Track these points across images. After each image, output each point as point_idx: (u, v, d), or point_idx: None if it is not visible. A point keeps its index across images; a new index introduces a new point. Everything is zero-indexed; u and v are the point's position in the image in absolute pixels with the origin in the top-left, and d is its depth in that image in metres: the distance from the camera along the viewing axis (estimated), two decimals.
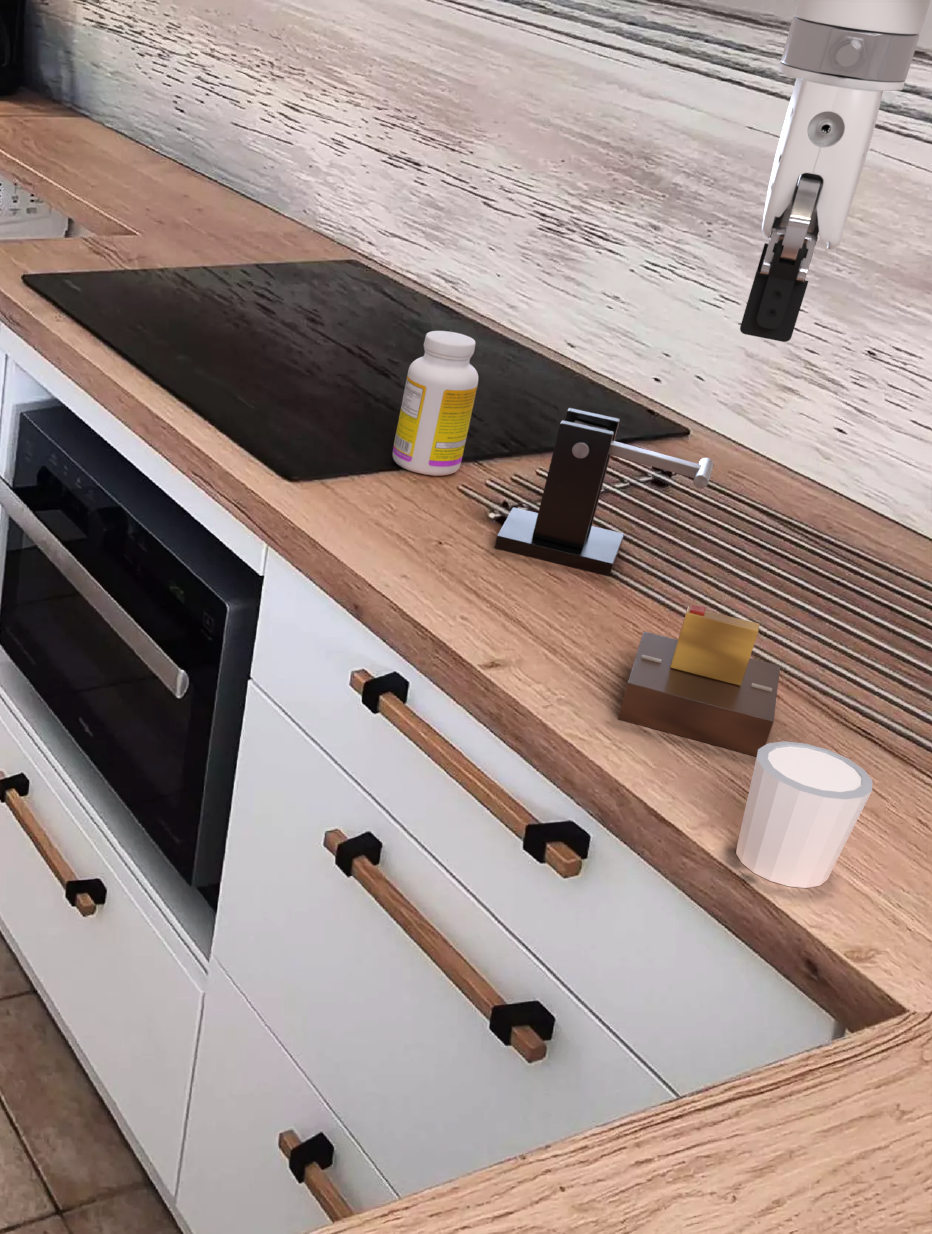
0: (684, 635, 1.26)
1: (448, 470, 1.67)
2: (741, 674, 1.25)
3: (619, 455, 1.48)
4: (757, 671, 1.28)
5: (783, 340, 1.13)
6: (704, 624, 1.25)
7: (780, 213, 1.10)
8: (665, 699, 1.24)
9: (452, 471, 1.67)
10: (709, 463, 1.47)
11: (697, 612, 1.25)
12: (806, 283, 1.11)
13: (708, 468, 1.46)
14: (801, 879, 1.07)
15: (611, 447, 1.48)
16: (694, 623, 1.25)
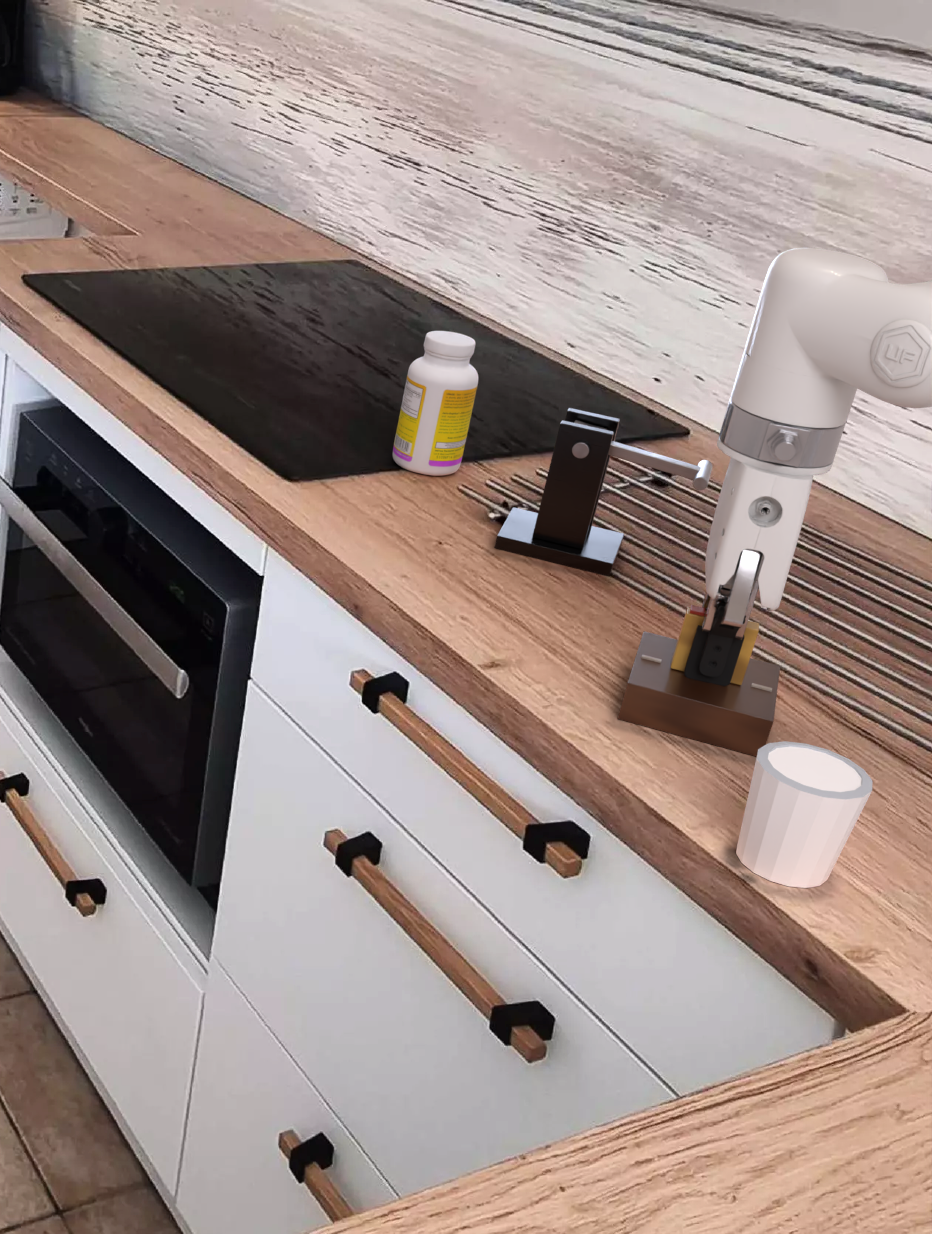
0: (684, 635, 1.25)
1: (448, 470, 1.67)
2: (741, 674, 1.25)
3: (619, 456, 1.48)
4: (757, 671, 1.28)
5: (723, 684, 1.25)
6: None
7: (724, 582, 1.19)
8: (665, 699, 1.24)
9: (452, 471, 1.67)
10: (708, 465, 1.47)
11: (697, 612, 1.25)
12: (743, 638, 1.23)
13: (707, 470, 1.46)
14: (801, 879, 1.07)
15: (610, 448, 1.48)
16: (694, 623, 1.25)
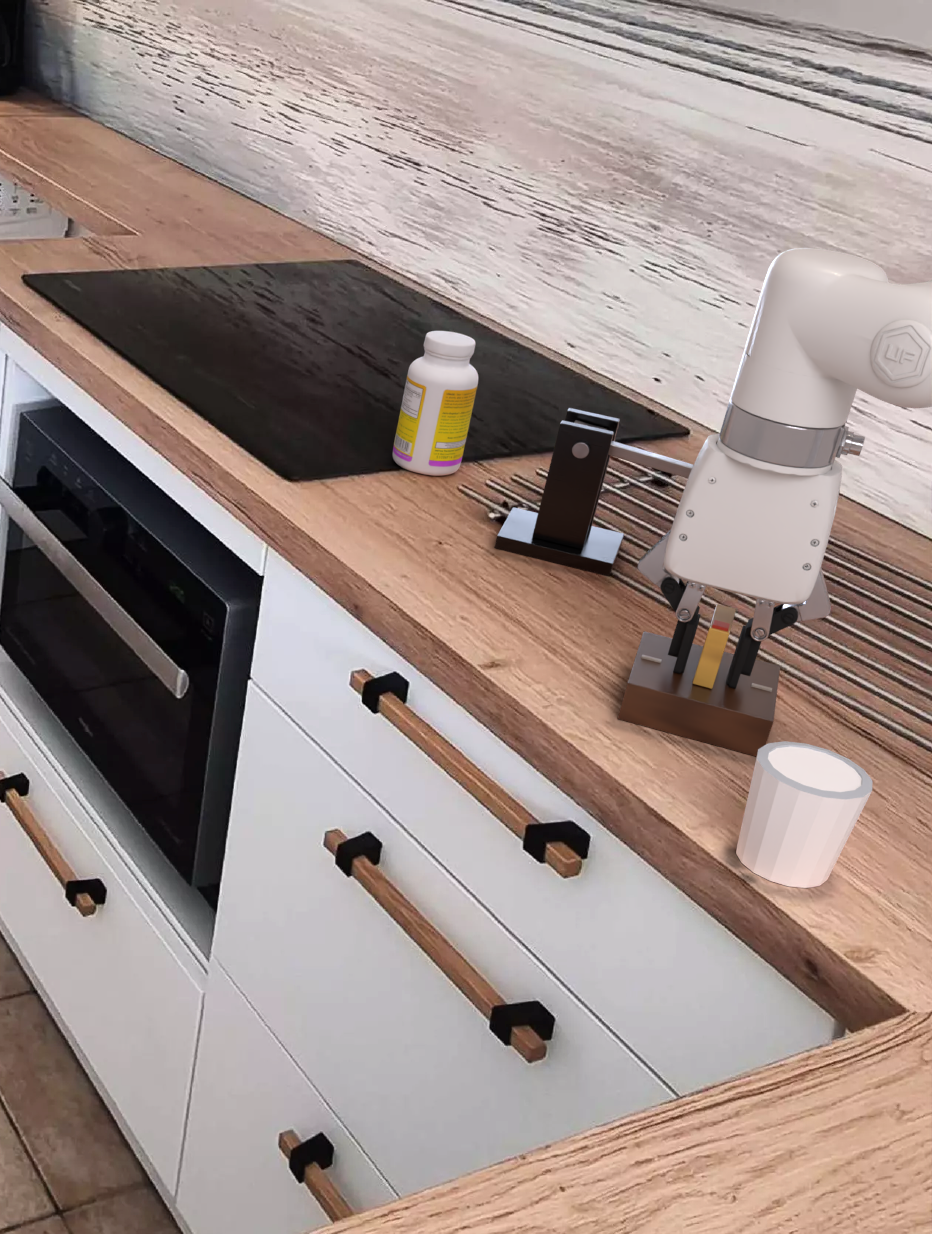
0: None
1: (448, 470, 1.67)
2: None
3: (619, 456, 1.48)
4: (757, 671, 1.28)
5: None
6: None
7: (815, 583, 1.20)
8: (665, 699, 1.24)
9: (452, 471, 1.67)
10: None
11: (728, 627, 1.23)
12: None
13: None
14: (801, 879, 1.07)
15: (610, 448, 1.48)
16: None
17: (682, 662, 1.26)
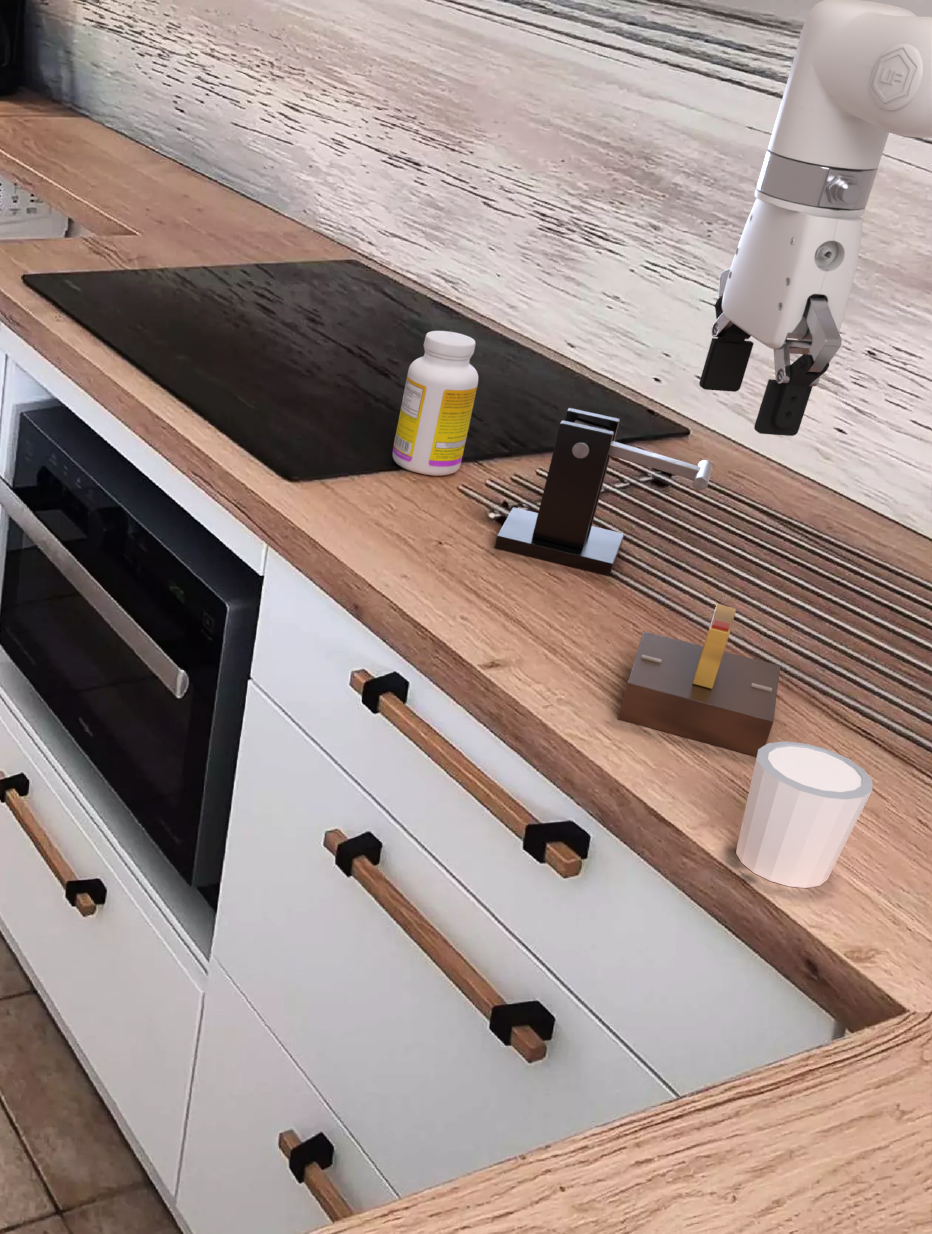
0: None
1: (448, 470, 1.67)
2: None
3: (619, 456, 1.48)
4: (757, 671, 1.28)
5: (791, 434, 1.28)
6: None
7: (792, 329, 1.24)
8: (665, 699, 1.24)
9: (452, 471, 1.67)
10: (708, 465, 1.47)
11: (728, 627, 1.23)
12: (811, 385, 1.26)
13: (707, 470, 1.46)
14: (801, 879, 1.07)
15: (610, 448, 1.48)
16: None
17: (704, 376, 1.36)
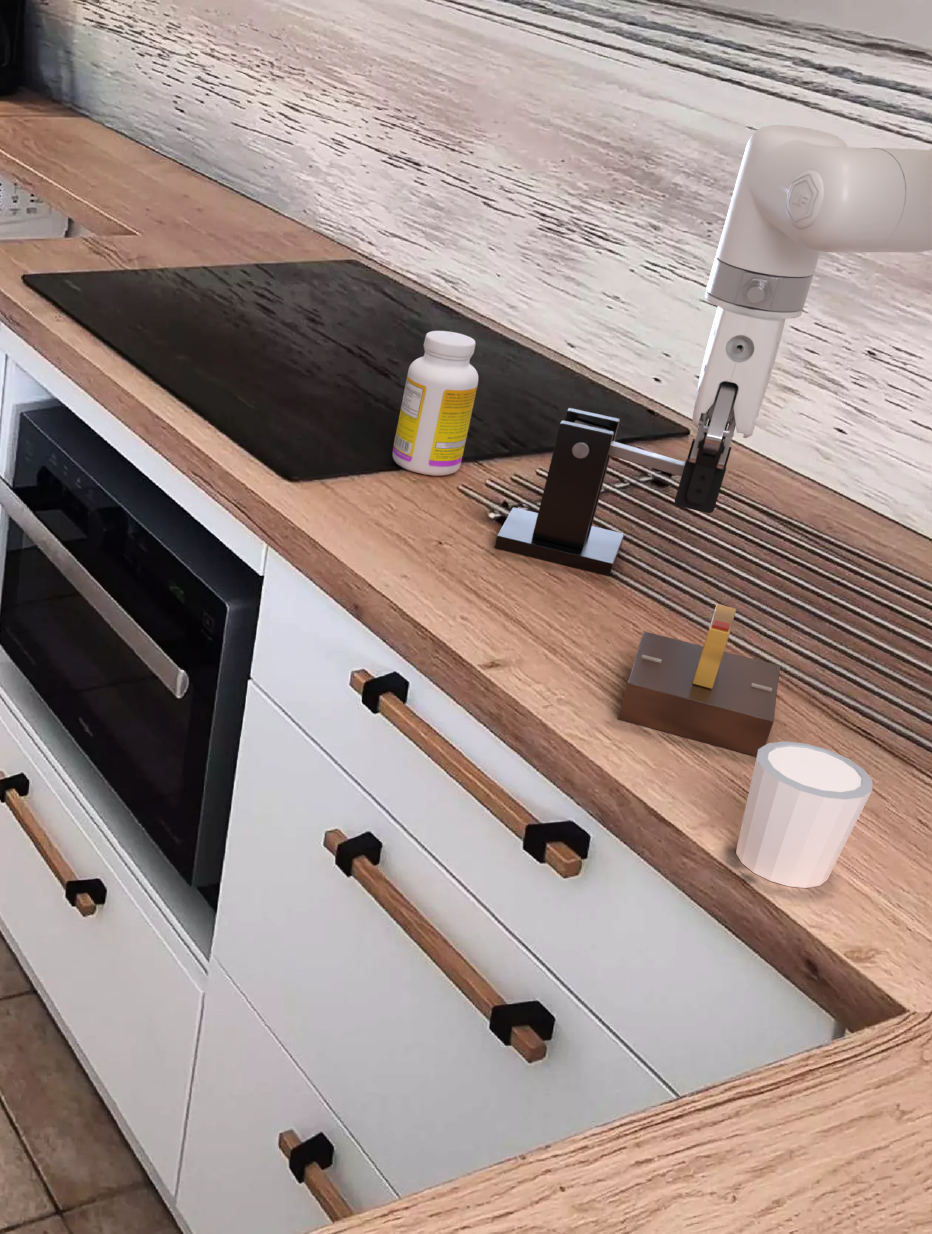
0: None
1: (448, 470, 1.67)
2: None
3: (619, 456, 1.48)
4: (757, 671, 1.28)
5: (707, 512, 1.45)
6: None
7: (705, 410, 1.40)
8: (665, 699, 1.24)
9: (452, 471, 1.67)
10: None
11: (728, 627, 1.23)
12: (724, 470, 1.43)
13: None
14: (801, 879, 1.07)
15: (610, 448, 1.48)
16: None
17: None
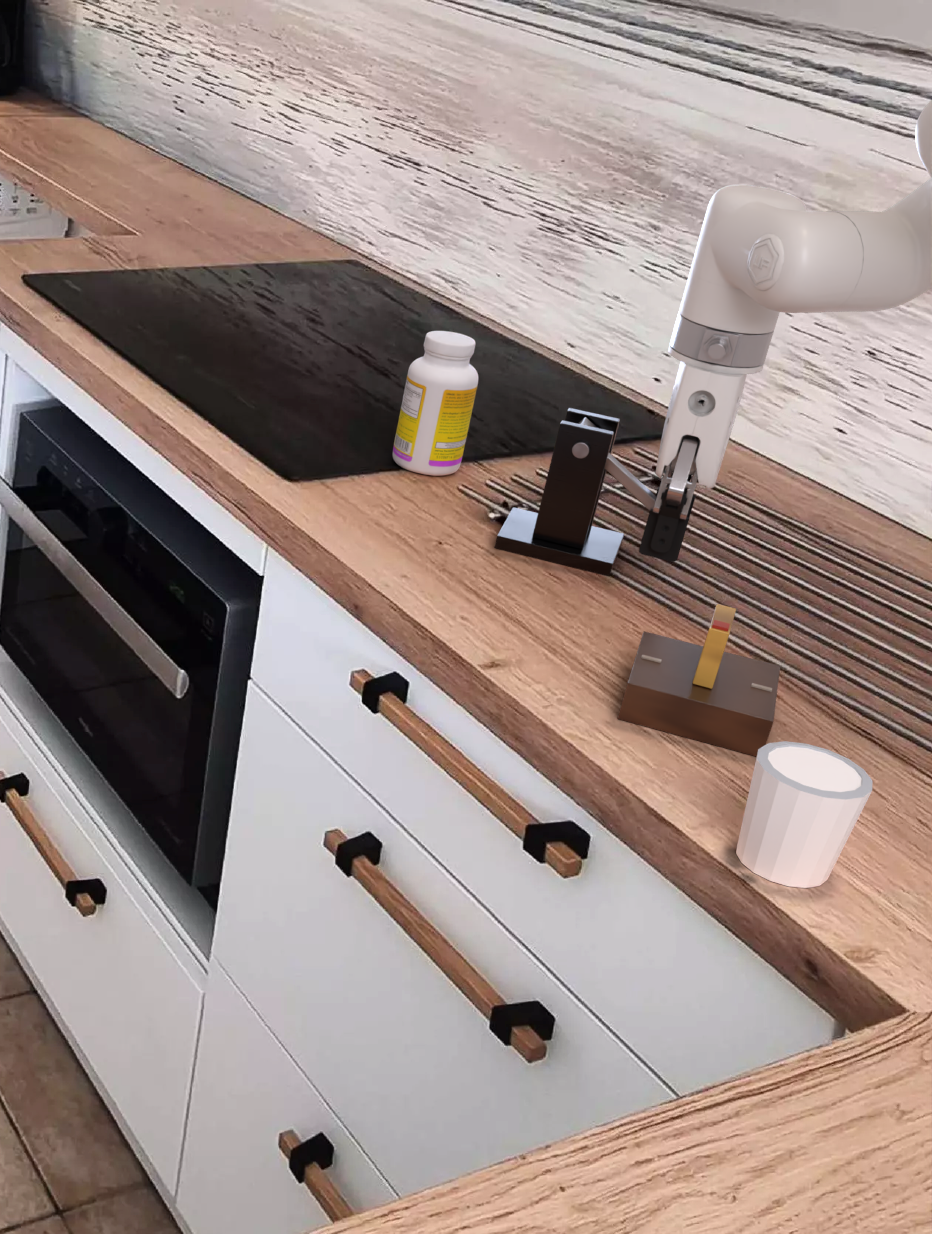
0: None
1: (448, 470, 1.67)
2: None
3: (608, 469, 1.49)
4: (757, 671, 1.28)
5: (671, 560, 1.47)
6: None
7: (668, 463, 1.43)
8: (665, 699, 1.24)
9: (452, 471, 1.67)
10: None
11: (728, 627, 1.23)
12: (687, 520, 1.46)
13: None
14: (801, 879, 1.07)
15: None
16: None
17: None
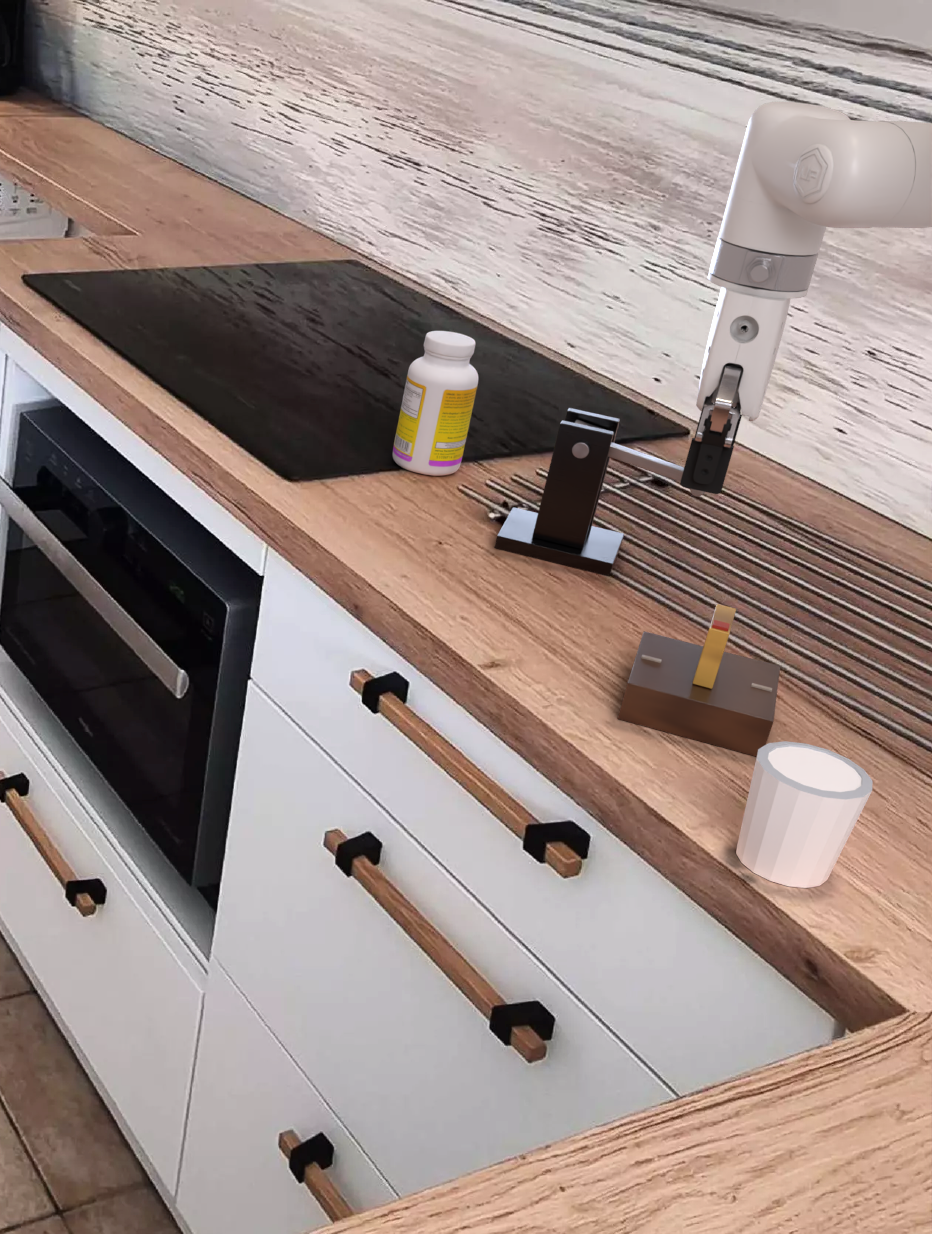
0: None
1: (448, 470, 1.67)
2: None
3: (618, 457, 1.48)
4: (757, 671, 1.28)
5: (715, 492, 1.40)
6: None
7: (710, 393, 1.37)
8: (665, 699, 1.24)
9: (452, 471, 1.67)
10: None
11: (728, 627, 1.23)
12: (732, 448, 1.38)
13: None
14: (801, 879, 1.07)
15: (610, 449, 1.48)
16: None
17: None
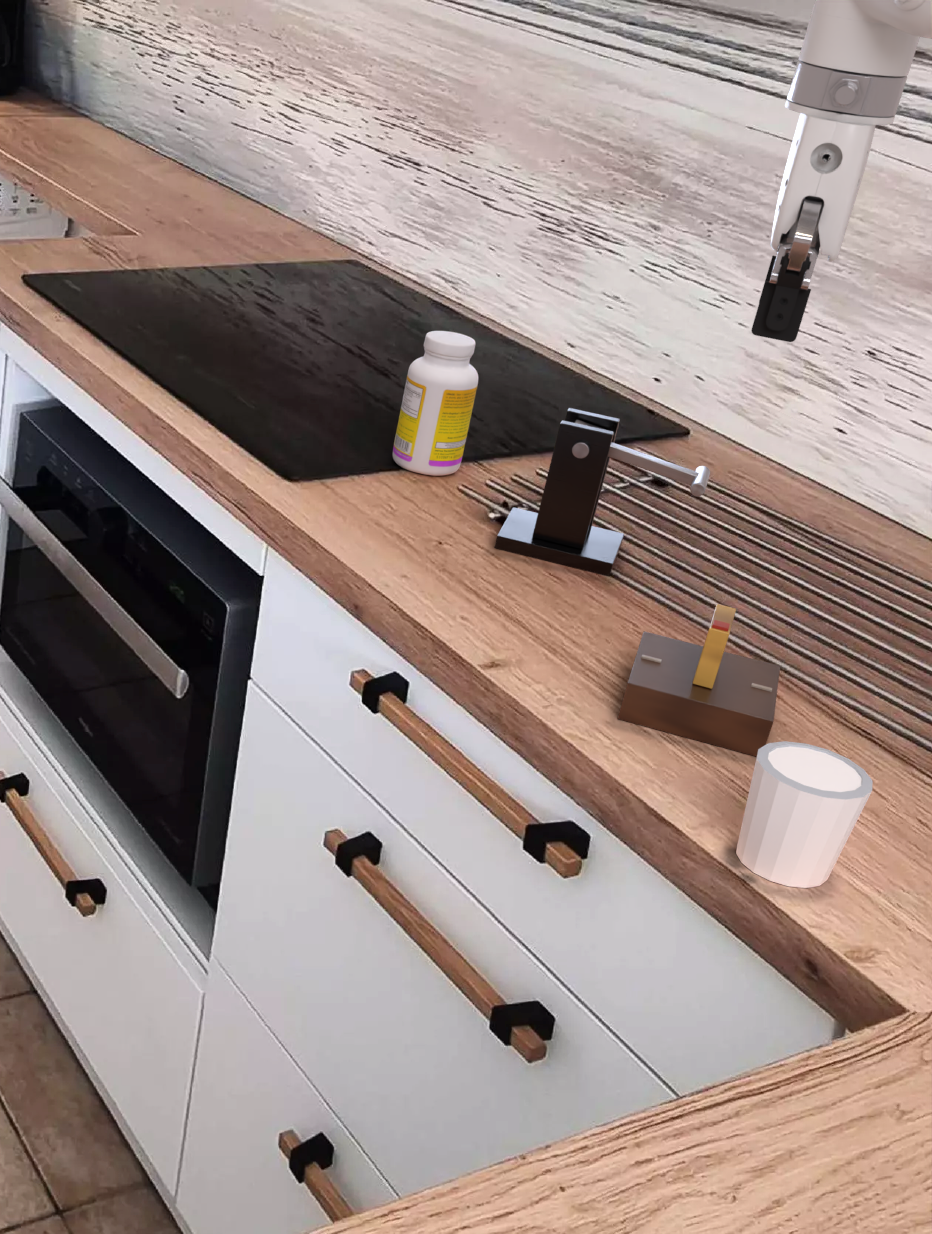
0: None
1: (448, 470, 1.67)
2: None
3: (618, 457, 1.48)
4: (757, 671, 1.28)
5: (789, 340, 1.30)
6: None
7: (786, 230, 1.27)
8: (665, 699, 1.24)
9: (452, 471, 1.67)
10: (706, 471, 1.48)
11: (728, 627, 1.23)
12: (809, 291, 1.28)
13: (705, 476, 1.47)
14: (801, 879, 1.07)
15: (610, 449, 1.48)
16: None
17: (762, 293, 1.38)
